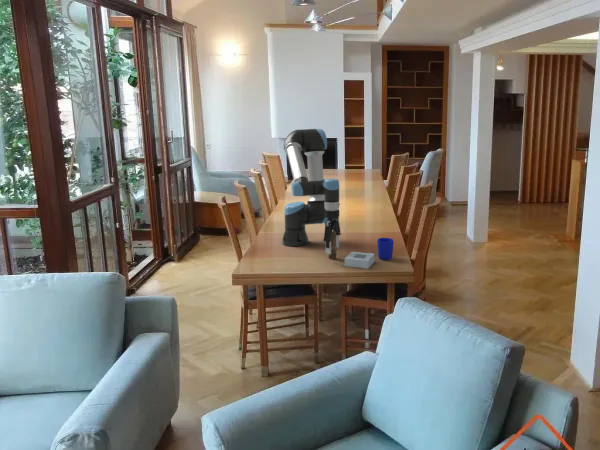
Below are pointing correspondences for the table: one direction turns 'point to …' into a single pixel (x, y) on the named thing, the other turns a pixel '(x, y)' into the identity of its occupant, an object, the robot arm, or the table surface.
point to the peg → (333, 246)
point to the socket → (359, 260)
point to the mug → (385, 248)
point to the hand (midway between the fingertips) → (332, 250)
